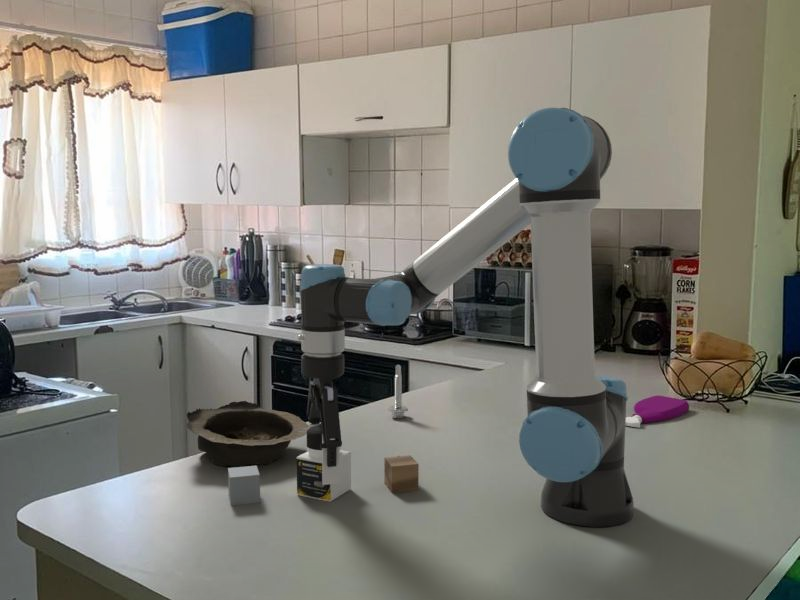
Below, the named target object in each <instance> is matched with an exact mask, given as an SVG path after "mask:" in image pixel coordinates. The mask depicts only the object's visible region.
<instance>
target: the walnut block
mask: <svg viewBox="0 0 800 600" xmlns="http://www.w3.org/2000/svg"><path fill="white" fill-rule="evenodd" d="M383 460H384V461H383V462H384V463H383V464H384V466H383V467H384V469H383V470H384V474H383V475H384V477H383V479H384V480H383V482H384V485H385V486H386V487H387V488H388V490H389V492H390V493H391V494H395V493H404V492H405V493H406V492H415V491H419V474H420V473H419V467H420V466H419V463H418V461H416V459H415V458H413V456H412V455H401V456H400V455H399V456H388V457H387V456H386V457H384V458H383Z"/></svg>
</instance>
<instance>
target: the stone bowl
mask: <svg viewBox="0 0 800 600" xmlns="http://www.w3.org/2000/svg"><path fill="white" fill-rule="evenodd" d="M186 418H187V423H186V428H187V429H188V430H190V432H192V433H194V434H195V435H198V436H197V449H198V450H199V451H200V452H204V453H206V454H207V455H208V457H209V459H210V460H211V462H213V464H215V465H217V466H220V467H229V466H231V467H233V468H235V467H245V466H249V465H264V466H265V465H268V464H269V465H270V463H272V462H274V461H277V460H278V459H280V458H282V457H283V456H284V453H285V451H286V449H287V448H288V447H289V446H290V443H291V442H292V441H293V440H297V439H299V438H303V437H304V436H307V430H308V429H309V424H308V423H307V422H305V420H303V419H301V418H300V416H297V415H295V414H293V413H289V412H287V411H279V410H276V409H265V408H264V407H262V406H260V405H259V404H258V403H256V402H255V403H254V402H253V403H252V402H249V401H246V400H242V401H241V400H240V401H232V402H229V404H225V405H221V406H220V407H218V408H213V407H211V408H196V409H195V410H193V411H188V412H187V413H186Z"/></svg>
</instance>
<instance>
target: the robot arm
mask: <svg viewBox="0 0 800 600" xmlns="http://www.w3.org/2000/svg"><path fill="white" fill-rule="evenodd" d="M507 147H508V148H507V158H508V163H509V168H510V170H511V172H512V173H513V175H514V177H515V178H514V179H513V180H512V181H510V182H508V184H506V185H505V186H504V187H502V188H501V190H500V189H499V191H498V192H497V193H496V194H494V195H493V196H492V197H491V198H490V199H488V200H487V201H486V202H484V203H483V204H482V205H481V206H479V207H478V208H477V209H476V210H475V211H473V212H472V213H471V214H470V215H468V217H466V218H465V219H464V220H463V221H462V222H461V223H459V224H458V225H457V226H455V227H454V228H453V229H452V230H451V231H449V232H448V233H447V234H445V235H444V236H443V237H442V238H441V239H439V240H438V241H436V243H435V244H433V245H432V246H430V248H428V249H427V250H426V251H424V253H422V254H421V255H420V256H419V257H417V258H416V259H415V260H414V261H413V262H412V263H411V264H409V265H408V266H407V267H405V268H404V269H403V270H401V272H399V273H397V274H394V275H393V274H392V275H389V276H383V277H376V278H357V277H356V278H354V277H353V278H352V277H346V273H345V268H344V266H343V265H341V264H331V263H319V264H318V263H317V264H316V263H313V264H308V265H305V266H303V268H302V269H301V276H300V277H301V278H300V289H299V292H300V307H301V309H300V310H301V312H300V313H301V314H300V315H301V318H300V319H301V326H300V328H301V331H300V332H301V334H299V335H297V339H298V340H299V341H301V345H300V346H301V351H302V352H303V354H302V355H301V356H300V358H301V361H300V364H301V365H300V367H301V375H302V376H303V377H305V378H307V379H308V378H309V379H308V380H309V382H308V383H309V384H308V396H307V406H306V408H307V409H306V414H305V415H306V416H307V418H308V419H307V422H308V423H309V424H308V425H309V428H311V427H313V426H316V425H321V427H322V435H323V442H324V443H321V444H320V449H322V484H323V485H327V484H338V483H339V447H341V448H342V445H343V441H342V433H341V431H340V430H341V421H340V412H339V411H340V410H339V399H338V398H339V397H338V393H339V390H338V387H336V386H334V383H333V379H334V378H339V377H342V376H343V375H344V374H345V354H344V353H343V352H344V351H345V347H346V346H345V345H346V344H345V331H346V329H345V322H347V323H348V322H349V323H359V324H360V323H361V324H366V325H367V324H370V325H376V326H378V325H379V326H380V327H381V326H382V327H385V326H400V325H403V324H404V323H405V322H406V319H408V318H409V317H410V316H411V315H416V314H417V315H418V314H420V313H422V312H424V311H426V310H428V309H429V308H430V307H431V306H432V305H433V304H434V303H435V300H436V298H437V297H438V296H439V295H441V294H442V293H443V292H445V290H447V289H448V288H450V287H451V286H452V285H453V284H454V283H456V282H458V280H460V279H461V278H462V277H464V276H466V275H467V274H468V273H469V272H470V271H471V270H474V268H475V267H477V266H478V265H479V264H481V263H482V262H483V261H484V260H486V259H487V258H488V257H490V256H491V255H492V254H493V253H495V252H496V251H497V250H499V249H500V248H502V247H503V246H504V245H505V244H506V243H507V242H510V241H511V240H512V239H513V238H514V237H516V236H517V235H518V234H520V233H522V231H524V230H525V228H527V227H528V226H530V234H531V235H530V236H531V237H530V240H531V241H530V242H531V264H532V266H531V267H532V290H533V291H532V292H533V320H534V321H533V323H534V347H535V377H534V379H532V380H531V381H530V382H529V383H528V385H527V386H526V403H527V405H526V406H527V410H526V411H527V417H526V418H525V419H524V420H523V422H522V425H521V427H520V430H519V436H518V437H519V438H518V441H519V442H518V443H519V449H520V451H521V455H522V456H523V459H524V460H525V462H526V463H527V465H528V466H529V467H530V468H531V469H533V470H534V471H535V472H536V473H537V474H538V475H539V476H541V477H543V478H545V482H544V485H543V488H542V490H541V495H540V508H541V510H542V512H543V513H544V514H546V515H547V516H549V517H551V518H553V520H554V519H555V520H557V521H560V522H563V523H566V524H570V525H575V526H583V527H594V528H595V527H596V528H602V527H603V528H604V527H613V526H619V525H621V524H624V523H626V522H629V521H630V520H631V519H632V518H633V516H634V505H635V503H634V498H633V494H632V490H631V488H630V484H629V481H628V477H627V474H626V471H625V449H626V448H625V447H626V446H625V445H626V444H625V443H626V426H625V423H626V417H627V414H626V413H627V401H628V400H629V398H628V395H627V394H628V393H627V384H626V382H625V381H624V380H623V379H621V378H618V377H614V376H608V375H601V374H596V371H595V369H596V367H595V366H596V365H595V339H594V338H595V336H594V335H595V332H594V305H593V271H592V269H593V268H592V264H593V263H592V245H591V244H592V238H591V237H592V236H591V235H592V233H591V231H592V230H591V213H592V212H593V210H594V209H595V208H596V207H597V205H599V204H600V203H601V180H602V179H603V178H604V176H605V174H606V173H607V171H608V169H609V167H610V165H611V162H612V155H613V151H612V149H613V148H612V143H611V139H610V136H609V134H608V132H607V131H606V130H605V128H604V127H603V125H601V124H600V123H599V122H597V120H594V119H593V118H591V117H588V116H586V115H582V114H581V113H579V112H578V111H575V110H574V109H571V108H567V107H545V108H541V109H538V110H536V111H534V112H531V113H530V114H528V115H527V116H526V117H524V118H523V119H522V120H521V121H520V122H519V123H518V125H517V126H516V127H515V128H514V131H513V132H512V134H511V137H510V140H509V144H508V146H507ZM330 439H335V440H330Z"/></svg>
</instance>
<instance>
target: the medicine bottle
mask: <svg viewBox="0 0 800 600" xmlns="http://www.w3.org/2000/svg"><path fill="white" fill-rule="evenodd" d="M340 431H341V429H340ZM330 440H335V439H330ZM321 443H324V442H323V435H322V427H321V425H316V426H313V427H311V428H309V429H308V430H307V434H306V452H304V453H301V454H299V455H298V456H296V495H297V496H300V497H305V498H310V499H315V500H319V501H324V502H330V503H331V502H333V501H334V500H336V499H338V498H339V497H340V496H343V495H344V494H346V493H347V492H348V491H350V490H351V489H352V453H351V451H349V450H348V451H347V450H343V449H342V446H341V447H339V483H338V484H327V485H323V484H322V449H320V444H321Z"/></svg>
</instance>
